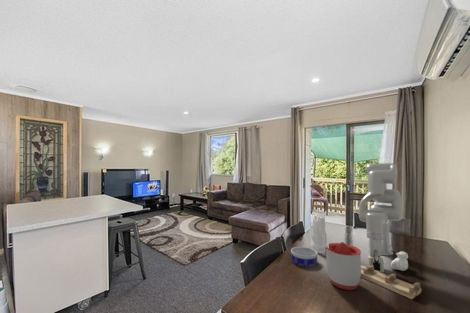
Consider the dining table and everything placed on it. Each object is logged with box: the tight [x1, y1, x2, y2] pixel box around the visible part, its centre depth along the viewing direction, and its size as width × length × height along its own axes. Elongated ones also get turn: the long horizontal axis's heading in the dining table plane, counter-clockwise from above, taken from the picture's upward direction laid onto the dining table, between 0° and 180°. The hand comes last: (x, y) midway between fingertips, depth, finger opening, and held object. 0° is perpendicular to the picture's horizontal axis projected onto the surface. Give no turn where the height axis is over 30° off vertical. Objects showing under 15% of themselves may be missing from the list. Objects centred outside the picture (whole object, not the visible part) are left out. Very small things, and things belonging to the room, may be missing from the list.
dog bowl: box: [290, 246, 318, 267], centre depth 128 cm, size 15×15×6 cm
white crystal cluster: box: [310, 212, 329, 255], centre depth 145 cm, size 11×11×25 cm
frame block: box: [367, 254, 385, 273], centre depth 117 cm, size 3×7×6 cm, turn 60°
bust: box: [390, 250, 409, 272], centre depth 117 cm, size 12×8×11 cm
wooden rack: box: [360, 264, 422, 300], centre depth 106 cm, size 10×30×4 cm, turn 30°
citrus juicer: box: [321, 241, 362, 291], centre depth 103 cm, size 16×17×20 cm
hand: (375, 266), depth 117 cm, fingers open, 9 cm apart
